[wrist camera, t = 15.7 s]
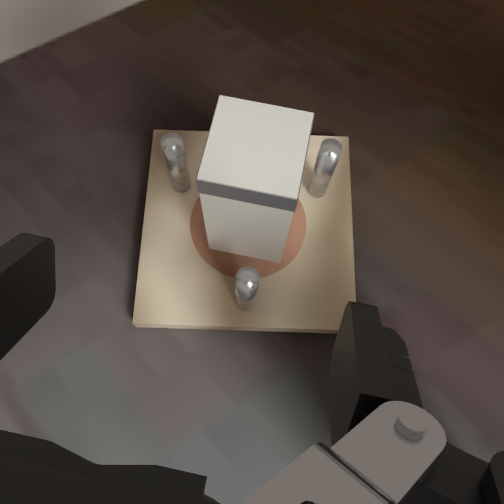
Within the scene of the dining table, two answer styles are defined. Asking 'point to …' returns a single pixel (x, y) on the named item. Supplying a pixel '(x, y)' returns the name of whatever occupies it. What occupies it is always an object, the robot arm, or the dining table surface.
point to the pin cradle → (238, 266)
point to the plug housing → (252, 176)
